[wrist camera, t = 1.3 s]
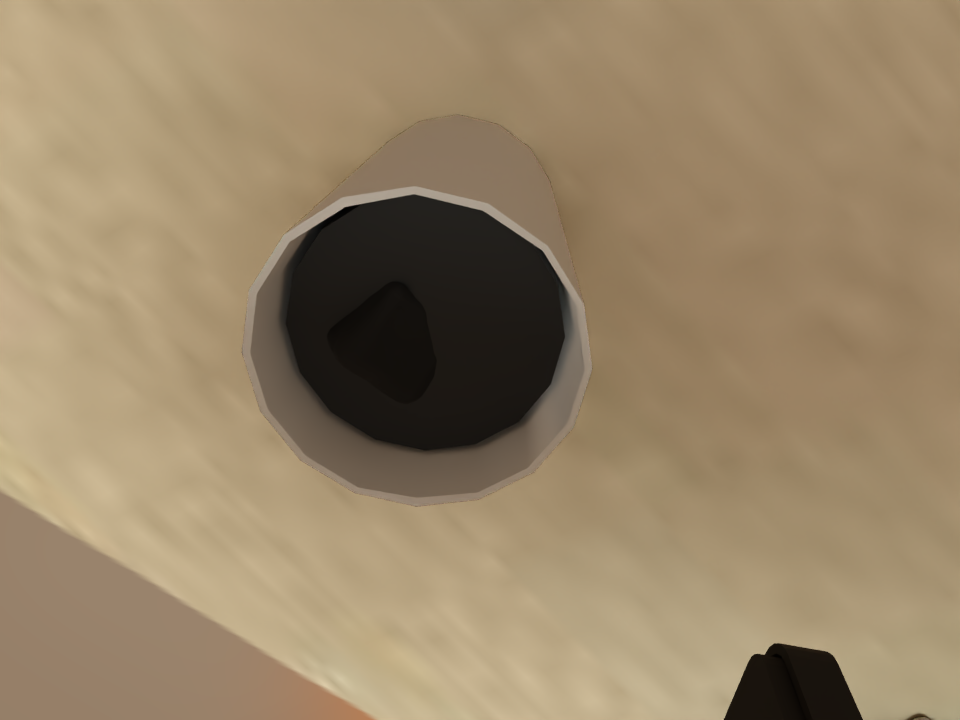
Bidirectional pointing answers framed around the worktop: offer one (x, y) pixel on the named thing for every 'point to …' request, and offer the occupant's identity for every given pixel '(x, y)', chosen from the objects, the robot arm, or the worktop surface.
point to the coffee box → (921, 718)
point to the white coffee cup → (424, 321)
